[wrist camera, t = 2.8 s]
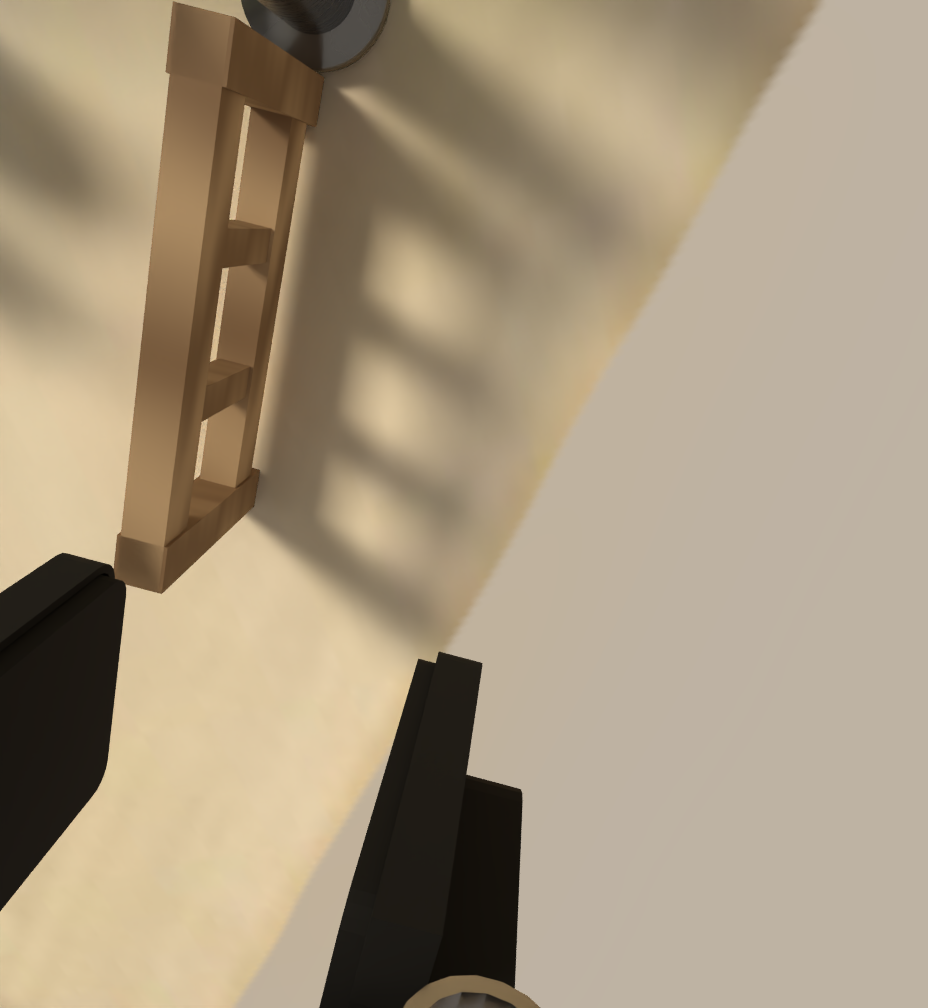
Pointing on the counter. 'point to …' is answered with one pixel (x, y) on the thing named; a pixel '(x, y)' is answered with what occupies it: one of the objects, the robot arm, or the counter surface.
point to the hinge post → (319, 28)
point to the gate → (210, 289)
